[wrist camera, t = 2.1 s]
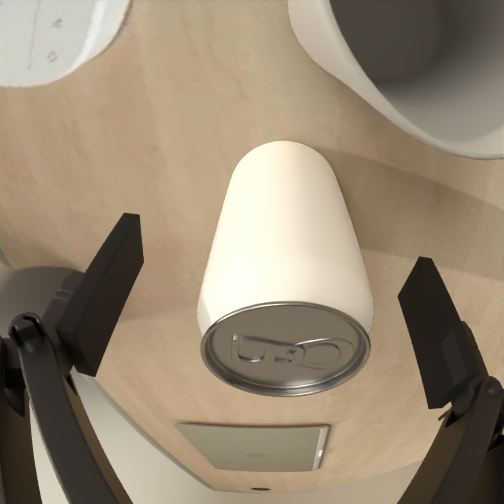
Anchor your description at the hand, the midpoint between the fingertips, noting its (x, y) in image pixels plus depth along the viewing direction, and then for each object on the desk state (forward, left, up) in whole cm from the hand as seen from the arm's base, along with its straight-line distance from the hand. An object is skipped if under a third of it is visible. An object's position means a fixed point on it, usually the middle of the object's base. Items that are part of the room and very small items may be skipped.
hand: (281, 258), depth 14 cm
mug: (-12, +1, -7) cm, 14 cm away
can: (0, 0, -7) cm, 7 cm away
